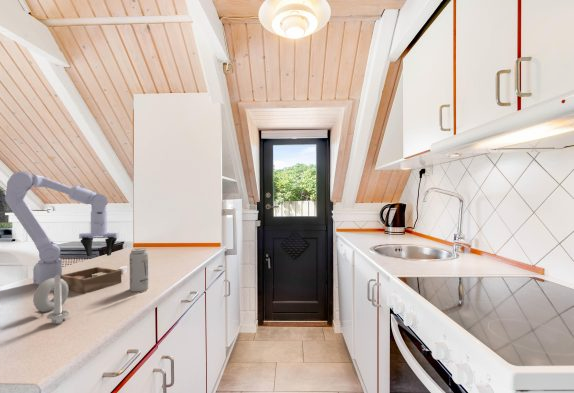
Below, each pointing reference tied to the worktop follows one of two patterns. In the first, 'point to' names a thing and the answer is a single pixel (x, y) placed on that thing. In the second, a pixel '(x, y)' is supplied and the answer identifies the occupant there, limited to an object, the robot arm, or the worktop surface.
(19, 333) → the worktop surface
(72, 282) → the storage box
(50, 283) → the donut
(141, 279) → the energy drink can
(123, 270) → the lid
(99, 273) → the cream block
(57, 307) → the screw
